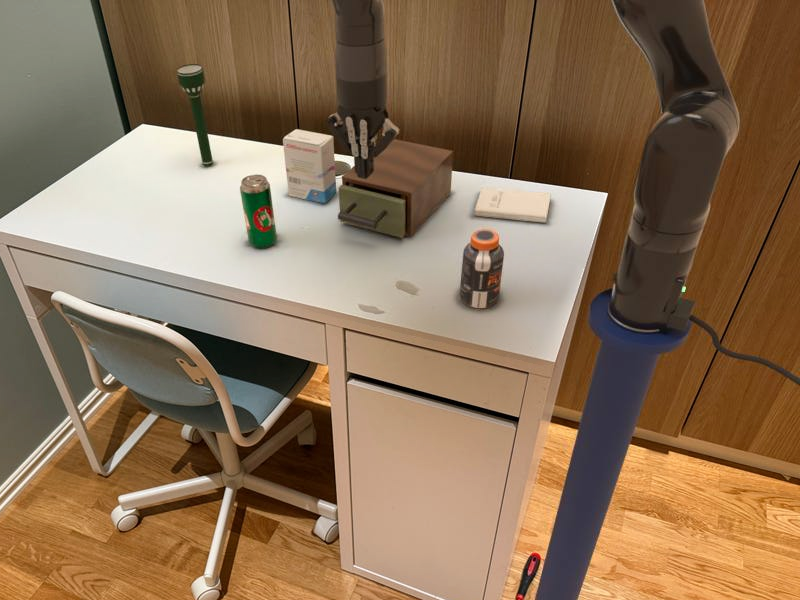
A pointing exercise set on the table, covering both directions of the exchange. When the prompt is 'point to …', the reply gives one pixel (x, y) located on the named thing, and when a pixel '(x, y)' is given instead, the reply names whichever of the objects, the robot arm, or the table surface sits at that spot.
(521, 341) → the table surface
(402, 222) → the drawer
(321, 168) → the ink box
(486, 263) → the pill bottle
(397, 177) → the cabinet
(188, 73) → the flashlight
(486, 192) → the hard drive
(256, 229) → the soda can
